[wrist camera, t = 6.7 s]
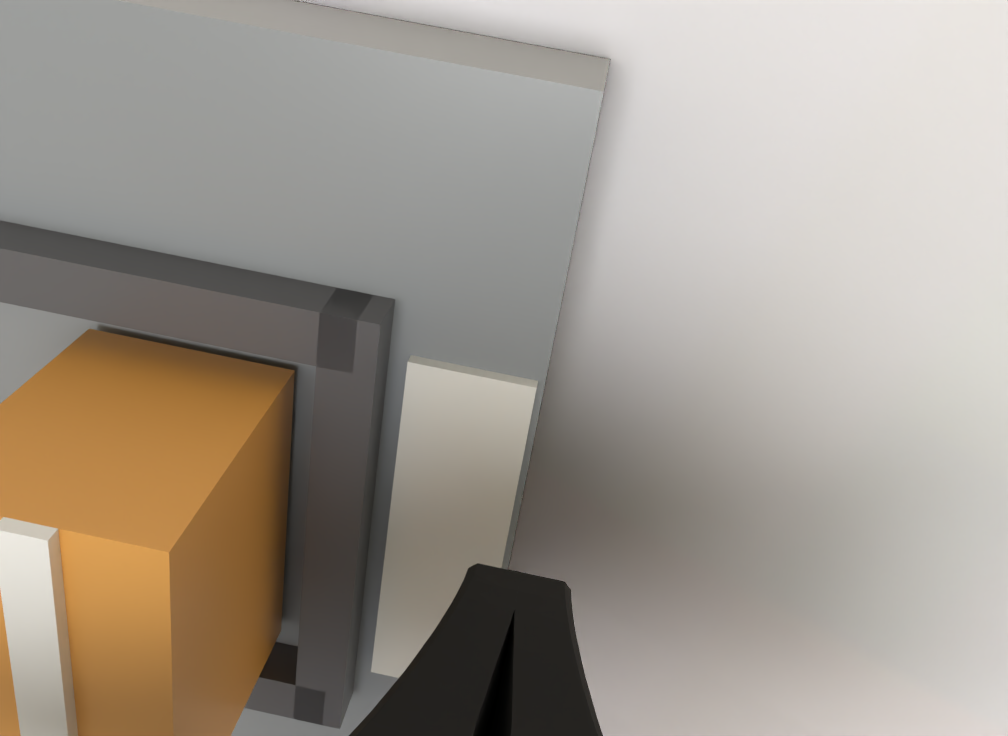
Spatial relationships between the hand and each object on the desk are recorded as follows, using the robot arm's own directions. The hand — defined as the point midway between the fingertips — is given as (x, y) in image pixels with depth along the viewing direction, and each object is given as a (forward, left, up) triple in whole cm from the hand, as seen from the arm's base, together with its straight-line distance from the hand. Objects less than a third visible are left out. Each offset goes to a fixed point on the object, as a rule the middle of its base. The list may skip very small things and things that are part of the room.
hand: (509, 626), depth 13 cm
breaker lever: (0, +5, -1) cm, 5 cm away
